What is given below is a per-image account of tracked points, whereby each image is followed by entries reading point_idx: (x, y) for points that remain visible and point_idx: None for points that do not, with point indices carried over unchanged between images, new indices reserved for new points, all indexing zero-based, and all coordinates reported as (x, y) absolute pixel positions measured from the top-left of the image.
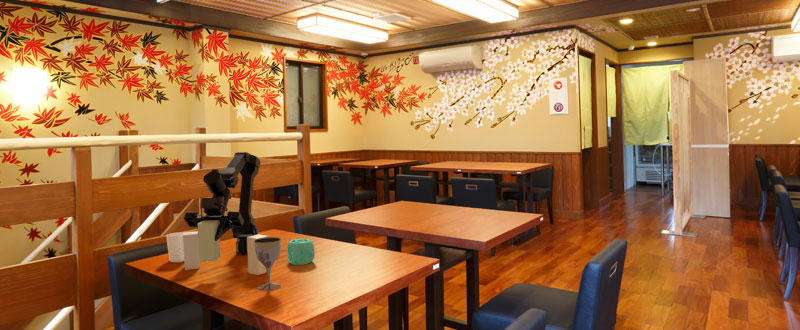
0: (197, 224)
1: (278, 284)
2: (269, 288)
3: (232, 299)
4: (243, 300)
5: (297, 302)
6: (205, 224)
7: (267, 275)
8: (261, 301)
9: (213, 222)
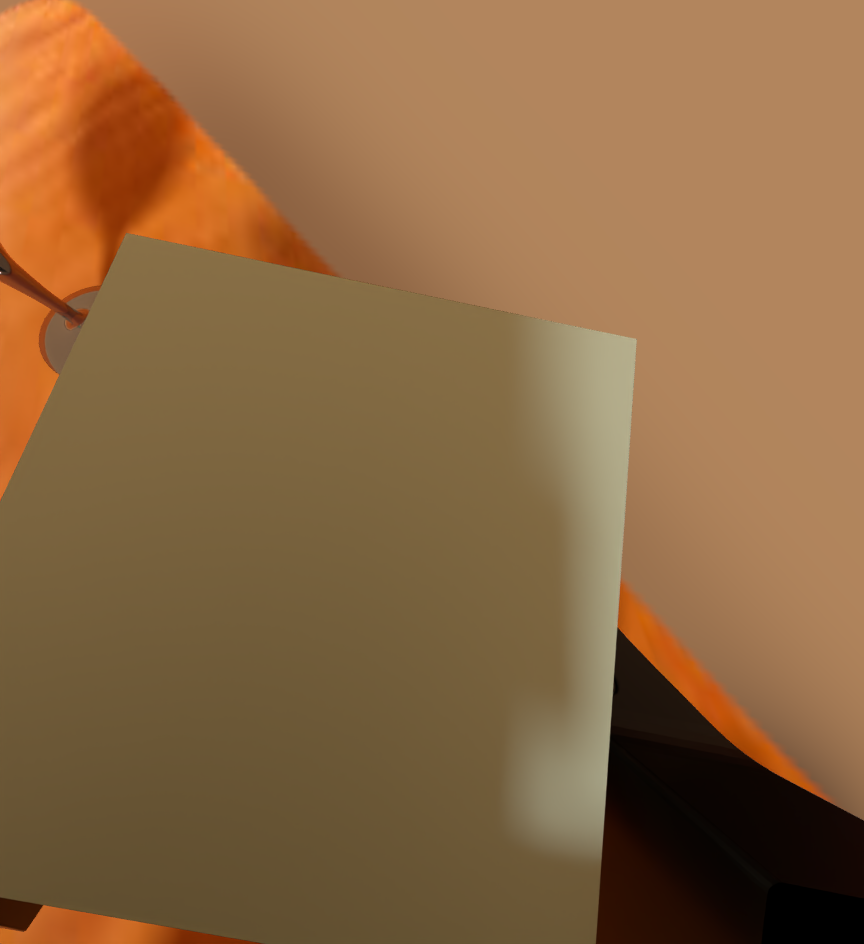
0: (716, 744)
1: (46, 348)
2: (95, 296)
3: (258, 223)
4: (214, 204)
5: (7, 139)
6: (379, 310)
7: (45, 289)
8: (144, 179)
9: (104, 398)
